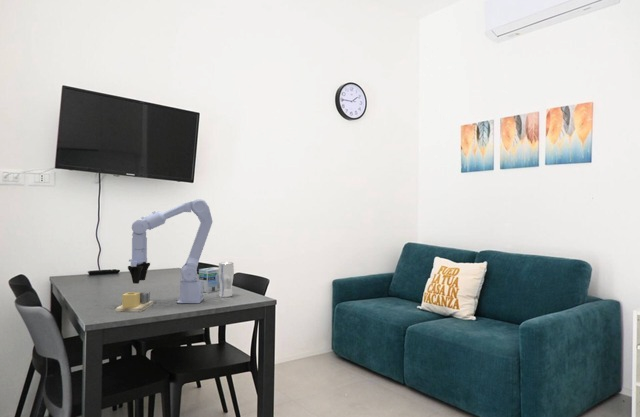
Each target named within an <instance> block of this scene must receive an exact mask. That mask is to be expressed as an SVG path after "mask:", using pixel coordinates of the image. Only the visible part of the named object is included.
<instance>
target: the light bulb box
mask: <svg viewBox="0 0 640 417" xmlns="http://www.w3.org/2000/svg"><path fill="white" fill-rule="evenodd" d="M218 268H219V267H216V266H214V267H207V268H198V281H202V282H203V293H207V294H209V293H213V292H220V284H219V277H218Z"/></svg>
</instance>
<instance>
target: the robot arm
mask: <svg viewBox="0 0 640 417" xmlns="http://www.w3.org/2000/svg"><path fill="white" fill-rule="evenodd" d="M192 212H193V213H194V215H195V216H196V217H197V218H198V220H199V222H200V223H199V227H198V230H197V232H196V236H195V238H194V240H193V243H192V246H191V248H190V251H189V254H188V257H187V259H186V261H185V264H184V265H183V266H181V269H180V274H181V278H180V280H179V299H178V300H177V302H176V304H200V303H202V301H203V300H204V292H203V282H202V281H199V279H198V278H197V276H198V271H197V270H198V266H199V261H200V258H201V256H202V253H203V250H204V248H205V243H206V242H207V239H208V236H209V233H210V231H211V228H212V226H213V217H212V215H211V209H210V206H209V205H208V203H207V202H206V201H205V200H203V199H199V198H198V199H195V200H190V201H188V202H184V203H181V204H179V205H177V206H175V207H172V208H170V209H168V210H167V211H166V210H165V211H164V212H163V211H162V212H161V211H153V212H152V214H151V213H150V214H149V215H146V216H141V217H140V219H137V220H135V221H134V222H132V224H131V230H132V235H131V236H132V238H131V259H130V258H129V259H128V262H130V265H128V266H127V270H128V271H129V273H130V276H131V280H132V284H136V285H137V284H140V281H145V280H146V277H147V273H148V270H149V268H150V265H151V262H148V238H147V230H149V231H151V230H153V229H156V228H158V227H160V226H162V225H165V224H166V221H167V220H168V219H170V218H172V217H175V216H178V215H180V214H182V213H192Z"/></svg>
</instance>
